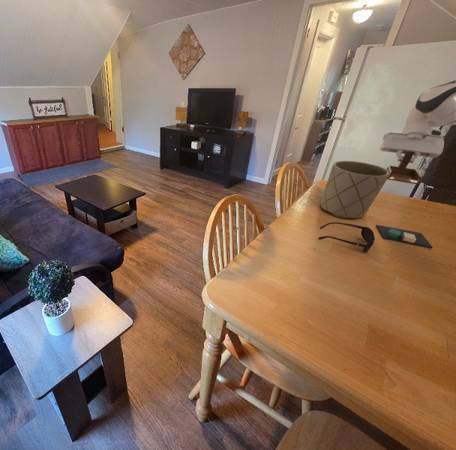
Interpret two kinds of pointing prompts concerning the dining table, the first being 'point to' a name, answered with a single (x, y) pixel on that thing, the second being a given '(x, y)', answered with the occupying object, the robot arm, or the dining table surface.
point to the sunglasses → (365, 233)
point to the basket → (404, 171)
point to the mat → (419, 238)
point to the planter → (352, 188)
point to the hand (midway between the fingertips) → (405, 161)
